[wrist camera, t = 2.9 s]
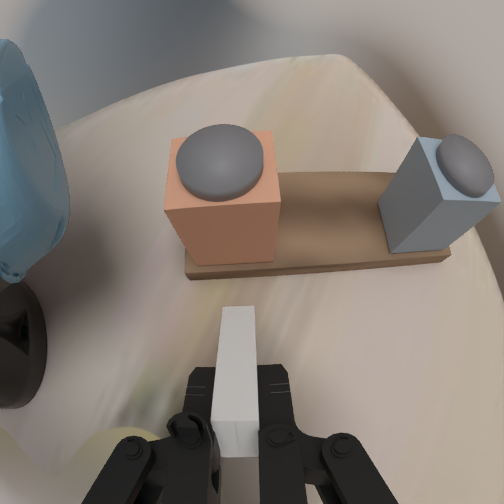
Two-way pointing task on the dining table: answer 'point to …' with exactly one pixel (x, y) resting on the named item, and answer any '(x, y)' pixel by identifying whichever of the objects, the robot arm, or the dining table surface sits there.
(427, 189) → the slate button
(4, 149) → the robot arm
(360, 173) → the button board
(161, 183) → the dining table surface
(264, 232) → the salmon button
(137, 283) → the dining table surface
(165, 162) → the dining table surface
